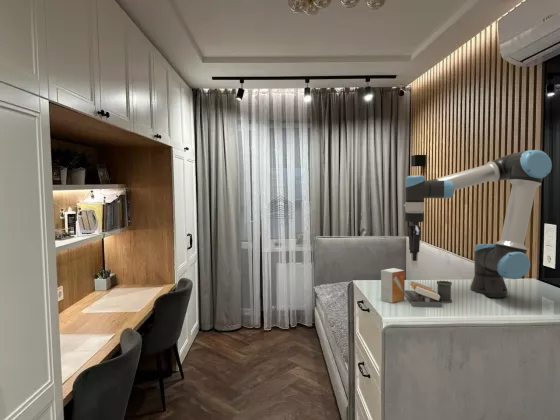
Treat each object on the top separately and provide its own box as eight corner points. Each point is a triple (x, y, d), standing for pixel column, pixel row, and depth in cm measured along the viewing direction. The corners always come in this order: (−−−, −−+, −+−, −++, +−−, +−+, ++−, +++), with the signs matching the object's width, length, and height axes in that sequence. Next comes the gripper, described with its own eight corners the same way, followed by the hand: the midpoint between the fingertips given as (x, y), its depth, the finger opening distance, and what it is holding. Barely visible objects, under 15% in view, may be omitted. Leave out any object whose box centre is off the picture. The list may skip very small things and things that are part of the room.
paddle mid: (432, 294, 160) (433, 290, 160) (434, 296, 157) (436, 292, 157) (411, 286, 161) (413, 282, 161) (413, 288, 158) (415, 284, 158)
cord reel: (449, 299, 160) (449, 280, 160) (453, 303, 155) (453, 284, 154) (435, 299, 161) (435, 280, 161) (439, 303, 156) (439, 283, 155)
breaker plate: (430, 295, 167) (430, 287, 167) (442, 307, 150) (442, 298, 149) (404, 294, 169) (404, 286, 169) (413, 306, 151) (412, 297, 151)
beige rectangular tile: (436, 298, 154) (437, 293, 154) (438, 300, 151) (440, 296, 151) (414, 290, 155) (416, 286, 155) (416, 292, 152) (418, 288, 152)
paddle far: (428, 290, 166) (430, 286, 166) (430, 292, 163) (432, 288, 163) (408, 283, 167) (410, 279, 167) (410, 285, 164) (411, 281, 164)
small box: (392, 303, 156) (392, 272, 155) (380, 300, 161) (380, 269, 161) (405, 300, 160) (405, 269, 160) (393, 297, 166) (393, 267, 165)
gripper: (402, 211, 165) (401, 265, 166) (408, 213, 152) (407, 270, 153) (420, 211, 164) (419, 265, 165) (427, 213, 151) (427, 271, 152)
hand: (413, 267), depth 159 cm, fingers closed
